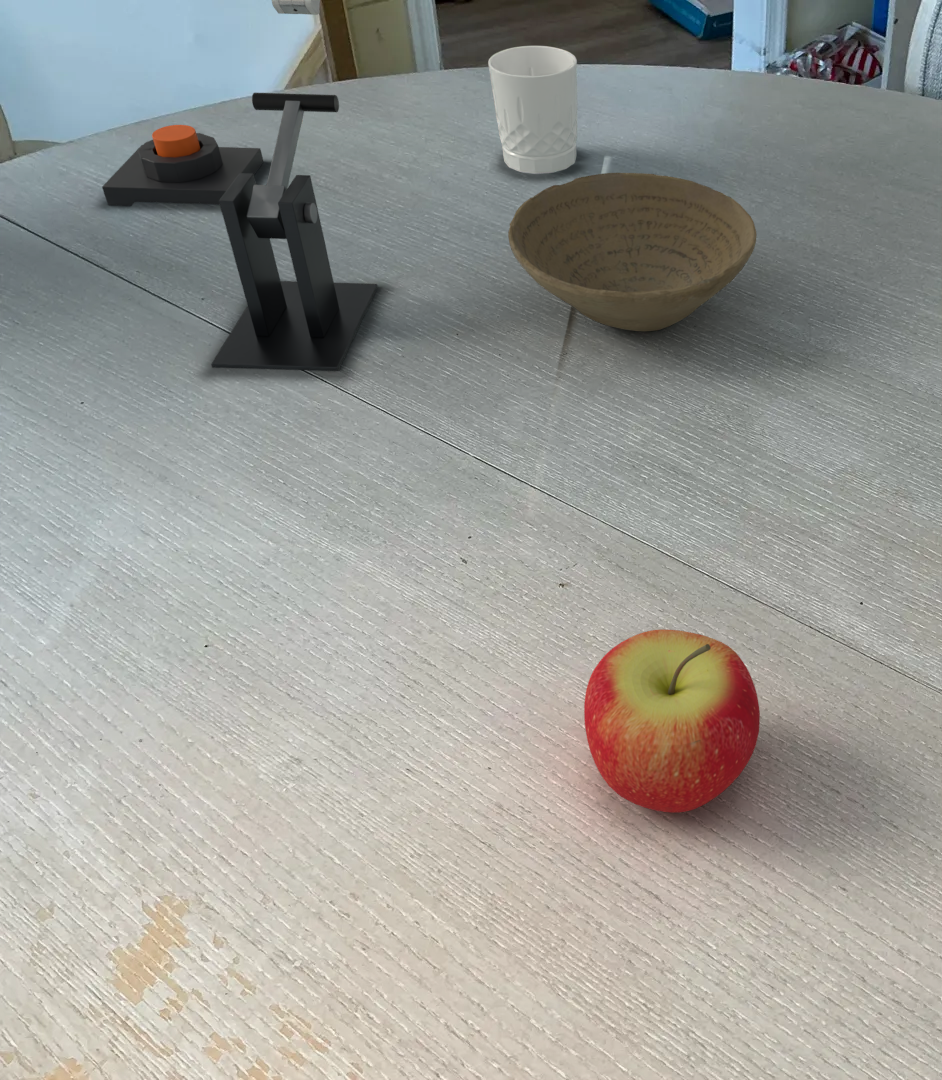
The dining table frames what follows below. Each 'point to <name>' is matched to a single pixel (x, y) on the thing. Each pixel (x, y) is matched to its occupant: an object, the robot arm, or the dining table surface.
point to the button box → (180, 174)
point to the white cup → (536, 107)
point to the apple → (671, 719)
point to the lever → (282, 156)
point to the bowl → (632, 246)
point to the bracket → (288, 289)
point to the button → (175, 141)
